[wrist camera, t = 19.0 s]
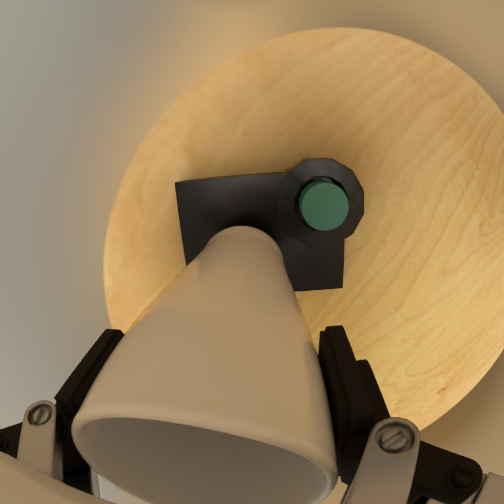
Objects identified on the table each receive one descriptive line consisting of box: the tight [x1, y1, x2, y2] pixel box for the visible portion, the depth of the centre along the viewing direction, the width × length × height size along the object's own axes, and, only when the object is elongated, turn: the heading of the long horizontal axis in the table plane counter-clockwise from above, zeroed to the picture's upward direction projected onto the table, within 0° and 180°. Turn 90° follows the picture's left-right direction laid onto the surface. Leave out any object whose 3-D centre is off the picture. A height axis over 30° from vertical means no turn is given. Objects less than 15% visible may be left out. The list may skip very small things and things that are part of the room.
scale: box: [175, 158, 364, 291], centre depth 20 cm, size 10×13×3 cm
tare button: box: [299, 181, 349, 231], centre depth 18 cm, size 3×3×2 cm
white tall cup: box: [71, 226, 338, 504], centre depth 12 cm, size 7×7×15 cm
